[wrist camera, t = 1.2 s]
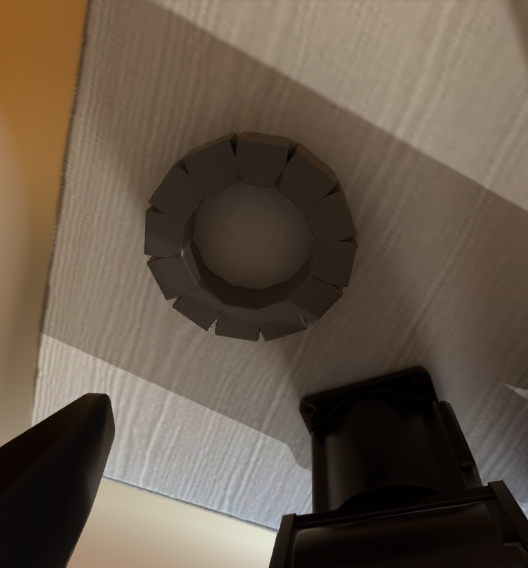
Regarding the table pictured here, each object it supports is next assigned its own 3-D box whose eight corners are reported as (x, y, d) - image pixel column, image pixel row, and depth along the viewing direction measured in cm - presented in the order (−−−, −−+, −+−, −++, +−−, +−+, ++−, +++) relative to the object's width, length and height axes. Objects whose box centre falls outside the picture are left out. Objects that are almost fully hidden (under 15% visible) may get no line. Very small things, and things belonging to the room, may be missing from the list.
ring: (206, 339, 23) (198, 362, 21) (124, 178, 20) (106, 189, 18) (375, 286, 21) (381, 306, 20) (312, 99, 18) (312, 103, 17)
